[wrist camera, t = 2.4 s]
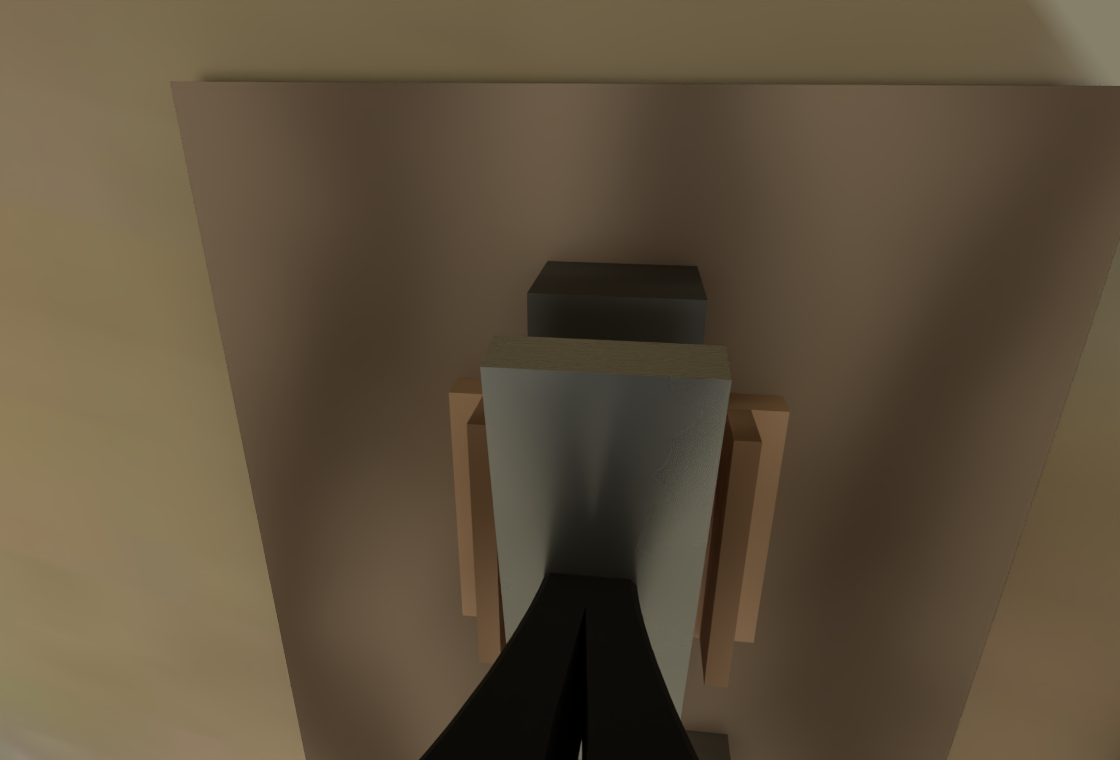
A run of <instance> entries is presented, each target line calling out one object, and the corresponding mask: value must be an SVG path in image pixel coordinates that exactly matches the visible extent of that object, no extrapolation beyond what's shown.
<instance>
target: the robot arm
mask: <svg viewBox="0 0 1120 760" xmlns="http://www.w3.org/2000/svg"><path fill="white" fill-rule="evenodd" d="M581 741H582V760H699V758H698V756H697V754H696V752H695V750H694V748H693V746H692V743H691V741H690V739H689V737H688V735H687V733H686V731H685V728H684V726H683V724H682V722H681V720H680V717H679V715H678V713H677V710H676V708H675V706H674V703H673V701H672V699H671V696H670V694H669V691H668V689H667V686H666V683H665V681H664V678H663V676H662V673H661V671H660V668H659V666H658V663H657V660H656V657H655V654H654V652H653V649H652V646H651V643H650V639H649V636H648V633H647V630H646V626H645V623H644V619H643V615H642V612H641V607H640V603H639V597H638V591H637V585H636V584H635V583H634V582H633V581H632V580H631V579H621V578H608V577H596V576H584V575H572V574H561V573H549V574H548V575H546V576H545V577H544V578H543V580H542V582H541V585H540V587H539V589H538V591H537V593H536V595H535V597H534V599H533V601H532V603H531V604H530V606H529V608H528V610H527V612H526V613H525V615H524V617H523V618H522V620H521V622H520V623H519V625H518V627H517V628H516V630H515V632H514V633H513V635H512V636H511V638H510V639H509V641H508V643H507V644H506V646H505V647H504V649H503V650H502V652H501V653H500V655H499V656H498V658H497V659H496V661H495V662H494V664H493V665H492V667H491V668H490V670H489V671H488V673H487V674H486V675H485V677H484V678H483V680H482V681H481V682H480V684H479V685H478V686H477V688H476V689H475V690H474V692H473V693H472V694H471V696H470V697H469V698H468V700H467V701H466V702H465V704H464V705H463V706H462V707H461V709H460V710H459V711H458V713H457V714H456V715H455V717H454V718H453V719H452V721H451V722H450V723H449V724H448V726H447V727H446V728H445V729H444V730H443V732H442V733H441V734H440V735H439V737H438V738H437V739H436V740H435V741H434V743H433V744H432V745H431V746H430V747H429V748H428V750H427V751H426V752H425V753H424V754H423V755H422V757H421V758H420V759H419V760H578V758H579V753H580V747H581Z"/></svg>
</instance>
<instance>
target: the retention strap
mask: <svg viewBox="0 0 1120 760" xmlns="http://www.w3.org/2000/svg"><path fill="white" fill-rule="evenodd" d="M480 371H481V382H482V393H483V403H484V414H485V424H486V435H487V445H488V456H489V467H490V477H491V488H492V498H493V509H494V519H495V530H496V540H497V551H498V562H499V572H500V583H501V593H502V604H503V614H504V625H505V635H506V644H507V643H508V641H509V639H510V638H511V636H512V635H513V633H514V632H515V630H516V628H517V627H518V625H519V623H520V622H521V620H522V618H523V617H524V615H525V613H526V612H527V610H528V608H529V606H530V604H531V603H532V601H533V599H534V597H535V595H536V593H537V591H538V589H539V587H540V585H541V582H542V580H543V578H544V577H545V576H546V575H548V574H549V573H561V574H572V575H584V576H596V577H608V578H621V579H631V580H632V581H633V582H634V583H635V584H636V585H637V591H638V597H639V603H640V607H641V612H642V615H643V619H644V623H645V626H646V630H647V633H648V636H649V639H650V643H651V646H652V649H653V652H654V654H655V657H656V660H657V663H658V666H659V668H660V671H661V673H662V676H663V678H664V681H665V683H666V686H667V689H668V691H669V694H670V696H671V699H672V701H673V703H674V706H675V708H676V710H677V713H678V715H679V717H680V719H681V713H682V706H683V700H684V693H685V686H686V680H687V673H688V666H689V660H690V653H691V647H692V640H693V633H694V627H695V620H696V614H697V607H698V600H699V594H700V587H701V580H702V574H703V567H704V561H705V554H706V547H707V541H708V534H709V528H710V521H711V514H712V508H713V501H714V495H715V488H716V481H717V475H718V468H719V461H720V455H721V448H722V442H723V435H724V428H725V422H726V415H727V409H728V402H729V395H730V389H731V382H732V378H731V373H730V367H729V361H728V355H727V350H726V346H719V345H698V344H676V343H655V342H634V341H613V340H591V339H570V338H549V337H528V336H506V335H493V337H492V340H491V342H490V344H489V347H488V349H487V352H486V354H485V356H484V359H483V361H482V363H481V366H480ZM578 760H582V741H581V747H580V753H579V758H578Z"/></svg>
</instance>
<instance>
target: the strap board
mask: <svg viewBox="0 0 1120 760" xmlns="http://www.w3.org/2000/svg"><path fill="white" fill-rule="evenodd" d="M170 84H171V89H172V94H173V99H174V104H175V109H176V114H177V119H178V124H179V129H180V134H181V139H182V144H183V149H184V154H185V159H186V164H187V169H188V174H189V179H190V184H191V189H192V194H193V199H194V204H195V209H196V214H197V219H198V224H199V229H200V234H201V239H202V244H203V249H204V254H205V259H206V264H207V269H208V274H209V279H210V284H211V289H212V294H213V299H214V304H215V309H216V314H217V319H218V324H219V329H220V334H221V339H222V344H223V349H224V354H225V359H226V364H227V368H228V373H229V378H230V383H231V388H232V393H233V398H234V403H235V408H236V413H237V418H238V423H239V428H240V433H241V438H242V443H243V448H244V453H245V458H246V463H247V468H248V473H249V478H250V483H251V488H252V493H253V498H254V503H255V508H256V513H257V518H258V523H259V528H260V533H261V538H262V543H263V548H264V553H265V558H266V563H267V568H268V573H269V578H270V583H271V588H272V593H273V598H274V603H275V608H276V613H277V618H278V623H279V628H280V633H281V638H282V643H283V648H284V653H285V658H286V663H287V668H288V673H289V678H290V683H291V688H292V693H293V698H294V703H295V708H296V713H297V718H298V722H299V727H300V732H301V737H302V742H303V747H304V752H305V757H306V760H419V759H420V758H421V757H422V755H423V754H424V753H425V752H426V751H427V750H428V748H429V747H430V746H431V745H432V744H433V743H434V741H435V740H436V739H437V738H438V737H439V735H440V734H441V733H442V732H443V730H444V729H445V728H446V727H447V726H448V724H449V723H450V722H451V721H452V719H453V718H454V717H455V715H456V714H457V713H458V711H459V710H460V709H461V707H462V706H463V705H464V704H465V702H466V701H467V700H468V698H469V697H470V696H471V694H472V693H473V692H474V690H475V689H476V688H477V686H478V685H479V684H480V682H481V681H482V680H483V678H484V677H485V675H486V674H487V673H488V671H489V670H490V668H491V667H492V665H493V664H494V662H495V661H496V659H497V658H498V656H499V655H500V653H501V652H502V650H503V649H504V647H505V646H506V635H505V625H504V614H503V604H502V593H501V583H500V572H499V562H498V551H497V540H496V530H495V519H494V509H493V498H492V488H491V477H490V467H489V456H488V445H487V435H486V424H485V414H484V403H483V393H482V382H481V371H480V366H481V363H482V361H483V359H484V356H485V354H486V352H487V349H488V347H489V344H490V342H491V340H492V337H493V335H506V336H528V337H549V338H570V339H591V340H613V341H634V342H655V343H676V344H698V345H719V346H726V350H727V355H728V361H729V367H730V373H731V378H732V382H731V389H730V395H729V402H728V409H727V415H726V422H725V428H724V435H723V442H722V448H721V455H720V461H719V468H718V475H717V481H716V488H715V495H714V501H713V508H712V514H711V521H710V528H709V534H708V541H707V547H706V554H705V561H704V567H703V574H702V580H701V587H700V594H699V600H698V607H697V614H696V620H695V627H694V633H693V640H692V647H691V653H690V660H689V666H688V673H687V680H686V686H685V693H684V700H683V706H682V713H681V719H680V720H681V722H682V724H683V726H684V728H685V731H686V733H687V735H688V737H689V739H690V741H691V743H692V746H693V748H694V750H695V752H696V754H697V756H698V758H699V760H947V757H948V754H949V751H950V748H951V745H952V742H953V739H954V736H955V733H956V730H957V727H958V724H959V721H960V718H961V715H962V712H963V709H964V706H965V703H966V700H967V697H968V694H969V691H970V688H971V685H972V682H973V679H974V676H975V673H976V670H977V667H978V664H979V661H980V658H981V655H982V652H983V649H984V646H985V643H986V640H987V637H988V634H989V631H990V628H991V625H992V622H993V619H994V616H995V613H996V610H997V607H998V604H999V601H1000V598H1001V595H1002V592H1003V589H1004V586H1005V583H1006V580H1007V577H1008V574H1009V571H1010V568H1011V565H1012V561H1013V558H1014V555H1015V552H1016V549H1017V546H1018V543H1019V540H1020V537H1021V534H1022V531H1023V528H1024V525H1025V522H1026V519H1027V516H1028V513H1029V510H1030V507H1031V504H1032V501H1033V498H1034V495H1035V492H1036V489H1037V486H1038V483H1039V480H1040V477H1041V474H1042V471H1043V468H1044V465H1045V462H1046V459H1047V456H1048V453H1049V450H1050V447H1051V444H1052V441H1053V438H1054V435H1055V432H1056V429H1057V426H1058V423H1059V420H1060V417H1061V414H1062V411H1063V408H1064V405H1065V402H1066V399H1067V396H1068V393H1069V390H1070V387H1071V384H1072V381H1073V378H1074V375H1075V372H1076V369H1077V366H1078V363H1079V360H1080V357H1081V354H1082V351H1083V348H1084V345H1085V342H1086V339H1087V336H1088V333H1089V330H1090V327H1091V324H1092V320H1093V317H1094V314H1095V311H1096V308H1097V305H1098V302H1099V299H1100V296H1101V293H1102V290H1103V287H1104V284H1105V281H1106V278H1107V275H1108V272H1109V269H1110V266H1111V263H1112V260H1113V257H1114V254H1115V251H1116V248H1117V245H1118V242H1119V239H1120V86H1005V85H794V84H583V83H372V82H170Z"/></svg>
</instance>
